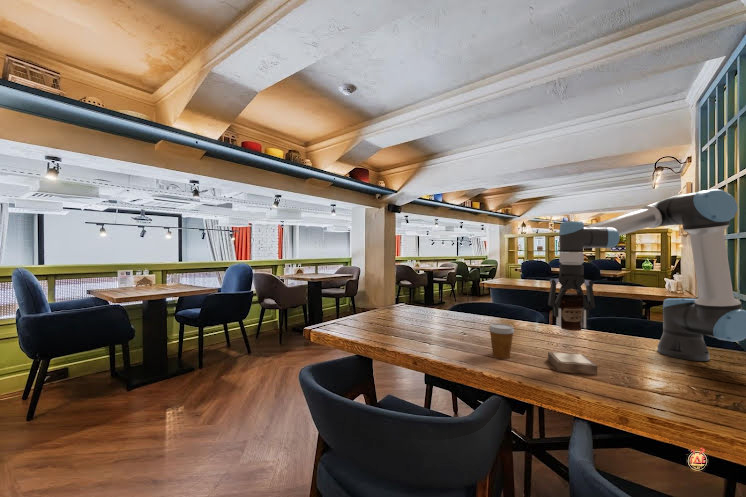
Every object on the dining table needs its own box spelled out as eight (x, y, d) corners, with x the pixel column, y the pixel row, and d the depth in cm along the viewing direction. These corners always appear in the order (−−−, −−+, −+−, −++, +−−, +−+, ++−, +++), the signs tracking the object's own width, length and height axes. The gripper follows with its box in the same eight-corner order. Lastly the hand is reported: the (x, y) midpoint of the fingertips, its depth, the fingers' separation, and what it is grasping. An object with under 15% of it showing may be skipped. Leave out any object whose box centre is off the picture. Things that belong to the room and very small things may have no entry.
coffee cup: (589, 333, 110) (589, 296, 110) (563, 331, 112) (563, 295, 112) (578, 327, 118) (578, 292, 118) (554, 326, 120) (554, 292, 120)
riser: (583, 362, 119) (583, 353, 119) (597, 374, 108) (597, 365, 108) (548, 359, 122) (548, 351, 122) (558, 371, 111) (558, 361, 111)
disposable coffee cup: (514, 354, 129) (514, 324, 129) (514, 361, 120) (514, 330, 120) (489, 350, 133) (489, 322, 133) (487, 357, 124) (487, 327, 124)
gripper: (598, 263, 116) (597, 325, 116) (538, 263, 121) (537, 322, 121) (607, 264, 109) (607, 331, 109) (543, 263, 114) (543, 327, 114)
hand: (570, 326), depth 115 cm, fingers closed on coffee cup, 7 cm apart
